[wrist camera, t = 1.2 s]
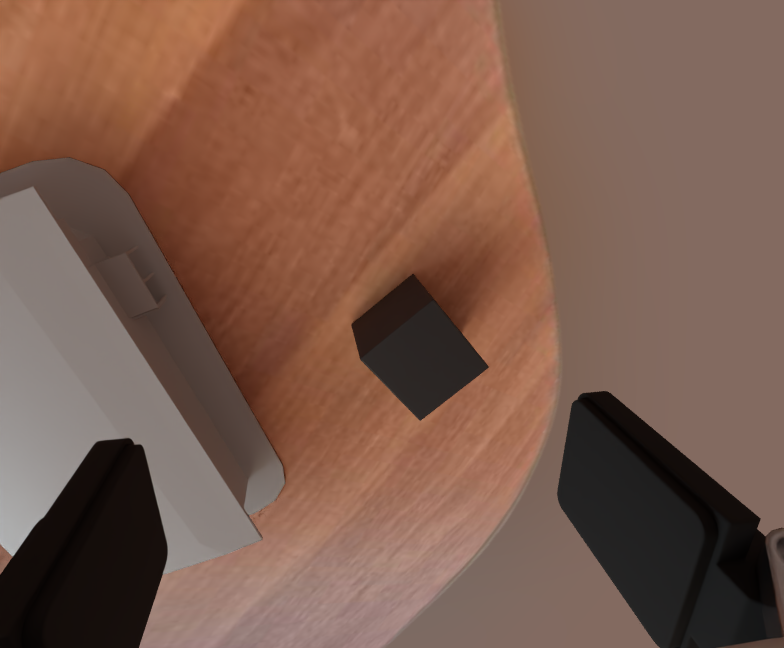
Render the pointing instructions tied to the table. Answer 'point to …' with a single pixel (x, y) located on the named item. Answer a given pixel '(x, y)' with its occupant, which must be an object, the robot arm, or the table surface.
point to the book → (114, 367)
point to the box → (416, 348)
